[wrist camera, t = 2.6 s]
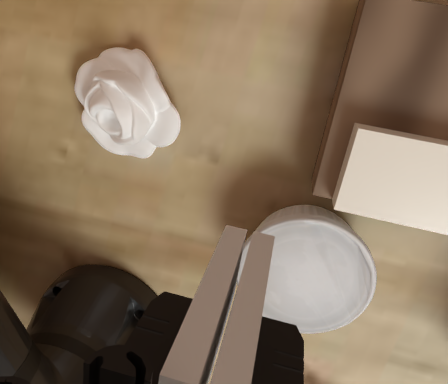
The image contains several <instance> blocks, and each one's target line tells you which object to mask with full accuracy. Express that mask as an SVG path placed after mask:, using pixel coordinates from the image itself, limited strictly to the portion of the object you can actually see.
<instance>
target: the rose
mask: <svg viewBox="0 0 448 384" xmlns="http://www.w3.org/2000/svg"><path fill="white" fill-rule="evenodd" d="M74 90H75V94H76V96H77V98H78V100H79V101H80V102H81V104H82V105H83V106H84V110H83V113H82V117H81V119H82V123H83V126H84V127H85V129H86V130H87V131H88V132H89V133H90V134H91V135H92V136H93V138H94V139H95V140H96V141H97V142H98V143H99V144H100V145H101V146H102V147H103V148H104V149H106V150H107V151H109V152H111V153H114V154H117V155H132V156H135V157H138V158H147V157H150V156H151V155H152V154H153V152H154V150H155V149H156V147H166V146H169V145H170V144H172V143H173V142H174V141H175V140H176V138H177V136H178V134H179V132H180V126H181V120H180V116H179V113H178V111H177V109H176V108H175V107H174V105H173V104H172V103H171V101H170V99H169V96H168V95H167V93H166V91H165V89H164V87H163V85H162V83H161V81H160V78H159V76H158V74H157V72H156V69H155V67H154V66H153V64H152V62H151V61H150V59H149V58H148V56H147V55H146V54H145V53H144V52H143V51H142V50H140V49H133V50H130V49H126V48H121V47H115V48H110V49H107V50H104V51H103V52H102V53H101V54H100V55H99V57H98V58H95V59H92V60H89V61H87V62H85V63H84V64H82V65H81V67H80V68H79V70H78V72H77V75H76V82H75V87H74Z"/></svg>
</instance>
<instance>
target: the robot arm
mask: <svg viewBox="0 0 448 384" xmlns="http://www.w3.org/2000/svg"><path fill="white" fill-rule="evenodd" d="M246 234H247V229H242V228H238V227H234V226H230V225H226V226H225V228H224V231H223V233H222V235H221V237H220V240H219V242H218V244H217V246H216V249H215V251H214V253H213V255H212V258H211V260H210V262H209V264H208V267H207V269H206V271H205V273H204V276H203V278H202V280H201V282H200V285H199V287H198V289H197V291H196V294H195V296H194V298H193V299H191V298H187V297H183V296H180V295H176V294H172V293H168V292H163V293H162V294H160V295H159V296H156V295H155V294H154V293H153V292H152V290H151V289H149V288H148V287H147V286H146V285H145V284H144V283H142V282H141V281H140V280H138V279H137V278H135V277H134V276H132V275H130V274H128V273H126V272H124V271H122V270H119V269H116V268H113V267H109V266H103V265H84V266H79V267H76V268H73V269H71V270H69V271H67V272H65V273H64V274H63V275H61V276H60V277H59V278H58V279H57V280H56V281H55V282H54V283H53V284H52V285H51V286H50V287H49V288H48V289H47V290H46V292H45V293H44V295H43V296H42V298H41V300H40V302H39V304H38V306H37V308H36V311H35V313H34V315H33V317H32V319H31V321H30V323H29V325H28V327H27V329H25V327H24V326H23V324H22V322H21V321H20V319H19V318H18V316H17V315H16V313H15V312H14V310H13V309H12V307H11V306H10V304H9V303H8V301H7V300H6V298H5V297H4V295H3V294H2V292H1V291H0V384H208V382H209V379H210V375H211V372H212V368H213V365H214V361H215V358H216V354H217V351H218V347H219V344H220V341H221V337H222V334H223V330H224V327H225V323H226V320H227V316H228V313H229V309H230V306H231V303H232V299H233V296H234V292H235V287H236V282H237V277H238V273H239V268H240V263H241V258H242V253H243V248H244V244H245V239H246ZM274 239H275V236H272V235H268V234H263V233H259V232H255V231H253V234H252V238H251V241H250V245H249V248H248V252H247V255H246V259H245V263H244V266H243V270H242V273H241V277H240V280H239V284H238V287H237V291H236V294H235V298H234V301H233V305H232V309H231V312H230V316H229V319H228V323H227V326H226V330H225V333H224V337H223V340H222V344H221V347H220V351H219V355H218V358H217V362H216V365H215V369H214V372H213V376H212V379H211V383H210V384H304V374H303V371H304V360H303V358H304V340H303V338H302V336H301V334H300V332H299V330H298V328H297V326H296V325H293V324H290V323H286V322H282V321H278V320H274V319H271V318H267V317H263V316H262V313H263V307H264V301H265V295H266V288H267V282H268V276H269V270H270V264H271V258H272V251H273V245H274Z"/></svg>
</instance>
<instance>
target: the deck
mask: <svg viewBox="0 0 448 384" xmlns="http://www.w3.org/2000/svg"><path fill="white" fill-rule="evenodd" d="M355 123H359V124H364V125H369V126H374V127H380V128H385V129H390V130H395V131H400V132H405V133H410V134H416V135H421V136H426V137H431V138H436V139H441V140H447V141H448V5H441V4H434V3H428V2H421V1H414V0H359V3H358V7H357V11H356V15H355V18H354V22H353V26H352V30H351V33H350V37H349V41H348V45H347V48H346V52H345V56H344V60H343V63H342V67H341V71H340V75H339V78H338V82H337V86H336V90H335V93H334V97H333V101H332V105H331V108H330V112H329V116H328V120H327V123H326V127H325V131H324V135H323V138H322V142H321V146H320V150H319V153H318V157H317V161H316V165H315V168H314V172H313V176H312V193H313V195H315V196H320V197H324V198H329V199H332V198H333V194H334V191H335V188H336V184H337V181H338V178H339V174H340V171H341V167H342V164H343V161H344V157H345V154H346V151H347V147H348V144H349V140H350V137H351V134H352V130H353V127H354V124H355Z"/></svg>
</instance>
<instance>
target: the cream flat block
mask: <svg viewBox="0 0 448 384" xmlns="http://www.w3.org/2000/svg"><path fill="white" fill-rule="evenodd" d="M332 202H333V208H334V210H338V211H342V212H347V213H351V214H356V215H360V216H365V217H369V218H374V219H378V220H382V221H387V222H391V223H396V224H400V225H405V226H409V227H414V228H418V229H423V230H427V231H432V232H436V233H440V234H445V235H448V141H447V140H441V139H436V138H431V137H426V136H421V135H416V134H410V133H405V132H400V131H395V130H390V129H385V128H380V127H374V126H369V125H364V124H359V123H355V124H354V127H353V130H352V134H351V137H350V140H349V144H348V147H347V151H346V154H345V157H344V161H343V164H342V167H341V171H340V174H339V178H338V181H337V184H336V188H335V191H334V194H333V198H332Z"/></svg>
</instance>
